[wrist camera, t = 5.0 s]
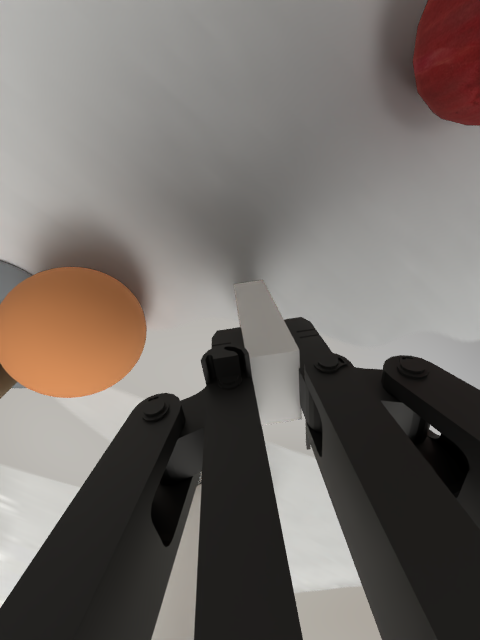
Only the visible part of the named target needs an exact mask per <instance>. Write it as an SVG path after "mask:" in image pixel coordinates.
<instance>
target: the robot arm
mask: <svg viewBox="0 0 480 640" xmlns="http://www.w3.org/2000/svg"><path fill="white" fill-rule="evenodd" d="M234 289H235V296H236V303H237V310H238V316H239V323H240V327H239V328H233V329H226V330H219V331H217V332H216V333H215V334H214V336H213V337H212V349H210V350H208V351H207V353H205V354H204V355H203V357H202V359H201V364H202V368H203V372H204V377H205V380H206V387H205V388H204V389H203V390H202V391H200V392H199V393H197V394H196V395H193V396H191V397H189V398H186V399H184V400H181V401H180V400H179V398H178V397H176V396H175V395H174V394H168V393H162V394H156V395H154V396H151V397H148V398H147V399H145V400H143V401H142V402H140V403H139V404H138V405H137V406H136V407H135V409H134V410H133V411H132V412H131V414H130V415H129V417H128V418H127V420H126V421H125V423H124V424H123V426H122V427H121V429H120V430H119V432H118V433H117V435H116V436H115V438H114V439H113V441H112V442H111V444H110V445H109V447H108V448H107V450H106V451H105V453H104V454H103V456H102V457H101V459H100V460H99V462H98V463H97V465H96V466H95V468H94V469H93V471H92V472H91V474H90V475H89V477H88V478H87V480H86V481H85V483H84V484H83V486H82V487H81V489H80V490H79V492H78V493H77V495H76V496H75V497H74V499H73V500H72V502H71V503H70V505H69V506H68V508H67V509H66V511H65V512H64V514H63V515H62V517H61V518H60V520H59V521H58V523H57V524H56V526H55V527H54V529H53V530H52V532H51V533H50V535H49V536H48V538H47V539H46V541H45V542H44V544H43V545H42V547H41V548H40V550H39V551H38V553H37V554H36V556H35V557H34V559H33V560H32V562H31V563H30V565H29V566H28V568H27V569H26V571H25V572H24V574H23V575H22V577H21V578H20V580H19V581H18V583H17V584H16V586H15V587H14V589H13V590H12V592H11V593H10V595H9V596H8V598H7V599H6V601H5V602H4V603H3V605H2V606H1V608H0V640H151V639H152V636H153V632H154V629H155V625H156V622H157V619H158V615H159V612H160V608H161V605H162V602H163V598H164V595H165V592H166V588H167V585H168V581H169V578H170V575H171V571H172V568H173V564H174V561H175V558H176V554H177V551H178V548H179V544H180V541H181V537H182V534H183V531H184V527H185V524H186V521H187V517H188V514H189V510H190V507H191V504H192V500H193V497H194V493H195V490H196V487H197V483H198V480H199V477H200V472H201V471H202V484H201V505H200V525H199V545H198V566H197V586H196V606H195V627H194V640H303V638H302V633H301V627H300V622H299V617H298V612H297V607H296V601H295V596H294V591H293V586H292V581H291V576H290V570H289V565H288V560H287V555H286V550H285V545H284V539H283V534H282V529H281V524H280V519H279V514H278V508H277V503H276V498H275V493H274V488H273V483H272V477H271V472H270V467H269V462H268V457H267V452H266V446H265V441H264V436H263V431H262V426H261V425H268V424H274V423H281V422H287V421H293V420H300V419H301V418H302V416H301V409H302V411H303V413H304V416H305V419H306V446H307V449H310V444H311V447H312V449H313V452H314V455H315V458H316V460H317V463H318V466H319V468H320V471H321V474H322V477H323V479H324V482H325V485H326V488H327V490H328V493H329V496H330V499H331V501H332V504H333V507H334V509H335V512H336V515H337V518H338V520H339V523H340V526H341V529H342V531H343V534H344V537H345V539H346V542H347V545H348V548H349V550H350V553H351V556H352V559H353V561H354V564H355V567H356V570H357V572H358V575H359V578H360V580H361V583H362V586H363V589H364V591H365V594H366V597H367V599H368V602H369V605H370V608H371V610H372V613H373V616H374V618H375V621H376V624H377V627H378V630H379V632H380V635H381V638H382V640H480V390H478V389H477V388H475V387H473V386H471V385H470V384H468V383H466V382H464V381H462V380H461V379H459V378H457V377H455V376H454V375H452V374H450V373H448V372H447V371H445V370H443V369H442V368H440V367H438V366H436V365H434V364H433V363H431V362H428V361H426V360H424V359H422V358H418V357H413V356H401V355H400V356H395V357H391V358H389V359H388V360H386V361H385V363H384V365H383V370H378V369H363V368H356V367H354V366H353V365H352V363H351V362H350V361H349V360H347V359H346V358H345V357H343V356H340V355H338V354H334V353H332V352H331V350H330V349H329V347H328V346H327V345H326V343H325V342H324V340H323V339H322V337H321V336H320V335H319V333H318V332H317V330H315V328H314V326H313V325H312V323H311V322H310V321H308V320H306V319H304V318H302V317H299V318H292V319H286V320H284V319H283V317H282V316H281V314H280V312H279V310H278V308H277V306H276V304H275V302H274V300H273V298H272V296H271V294H270V292H269V290H268V288H267V286H266V285H265V283H264V281H263V280H258V281H252V282H245V283H238V284H234ZM430 425H431V426H433V427H434V428H435V429H437V430H438V431H439V432H440V433H441V436H439V435H437V434H435V433H433V432H432V431H431V430H429V427H430Z"/></svg>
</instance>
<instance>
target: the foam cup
mask: <svg viewBox="0 0 480 640" xmlns="http://www.w3.org/2000/svg"><path fill="white" fill-rule="evenodd" d="M200 505H201V484H200V485H198V486H197V487H196V490H195V493H194V497H193V500H192V504H191V507H190V510H189V514H188V517H187V521H186V524H185V527H184V531H183V534H182V537H181V541H180V544H179V548H178V551H177V554H176V558H175V561H174V564H173V568H172V571H171V575H170V578H169V581H168V585H167V588H166V592H165V595H164V598H163V602H162V605H161V608H160V612H159V615H158V619H157V622H156V625H155V629H154V632H153V636H152V639H151V640H194V627H195V606H196V586H197V566H198V545H199V525H200Z"/></svg>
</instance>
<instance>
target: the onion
mask: <svg viewBox="0 0 480 640" xmlns="http://www.w3.org/2000/svg"><path fill="white" fill-rule="evenodd" d="M413 67H414V73H415V79H416V85H417V91H418V94H419V95H420V96H421V97H422V99H423V100H424V101H425V103H426V104H427V105H428V106H429V108H430V109H431V110H432V112H433V113H435V114H436V115H437V116H439V117H440V118H441V119H445V120H449V121H452V122H456V123H460V124H464V125H480V0H428V2H427V4H426V7H425V9H424V12H423V14H422V17H421V19H420V22H419V24H418V29H417V35H416V42H415V49H414V56H413Z"/></svg>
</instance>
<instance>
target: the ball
mask: <svg viewBox="0 0 480 640" xmlns="http://www.w3.org/2000/svg"><path fill="white" fill-rule="evenodd" d="M145 340H146V321H145V317H144V313H143V310H142V308H141V306H140V304H139V302H138V300H137V299H136V297H135V296H134V295H133V293H132V292H131V291H130V290H129V289H128V288H127V287H126V286H124V285H123V284H122V283H121V282H119V281H118V280H116V279H115V278H113V277H111V276H109V275H107V274H105V273H102V272H100V271H96V270H93V269H89V268H81V267H60V268H54V269H49V270H46V271H43V272H39V273H37V274H35V275H33V276H31V277H29V278H27V279H25V280H24V281H22V282H21V283H19V284H18V285H17V286H15V287H14V288H13V289H12V290H11V291H10V292H9V293H8V294H7V296H6V297H5V298H4V300H3V301H2V302H1V304H0V364H1V365H2V367H3V368H4V369H5V371H6V372H7V373H8V374H9V375H10V376H11V377H12V378H13V379H15V380H16V381H17V382H19V383H20V384H21V385H23V386H24V387H26V388H28V389H30V390H33V391H35V392H38V393H40V394H44V395H48V396H53V397H63V398H72V397H82V396H87V395H91V394H94V393H97V392H100V391H103V390H105V389H107V388H109V387H111V386H112V385H114V384H116V383H117V382H118V381H120V380H121V379H122V378H123V377H125V376H126V375H127V374H128V373H129V372H130V371H131V370H132V368H133V367H134V366H135V364H136V363H137V361H138V360H139V358H140V356H141V353H142V351H143V348H144V345H145Z"/></svg>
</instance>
